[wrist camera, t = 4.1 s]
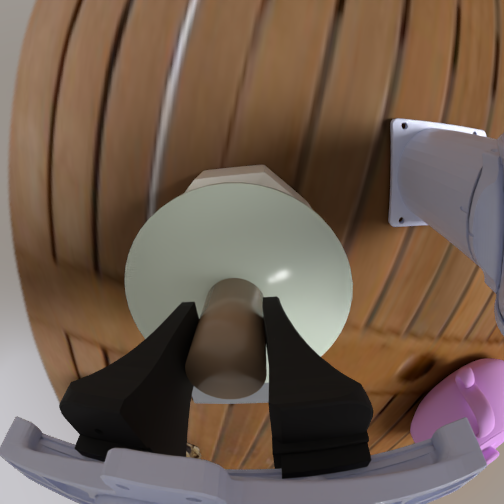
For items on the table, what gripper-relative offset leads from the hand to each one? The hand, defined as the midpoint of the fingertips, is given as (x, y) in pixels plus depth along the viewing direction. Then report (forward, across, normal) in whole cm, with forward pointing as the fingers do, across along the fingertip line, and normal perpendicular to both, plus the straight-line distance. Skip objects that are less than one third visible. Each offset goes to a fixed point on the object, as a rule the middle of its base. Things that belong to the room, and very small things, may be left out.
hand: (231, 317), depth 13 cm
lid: (+2, 0, +1) cm, 2 cm away
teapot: (+10, -30, +25) cm, 40 cm away
